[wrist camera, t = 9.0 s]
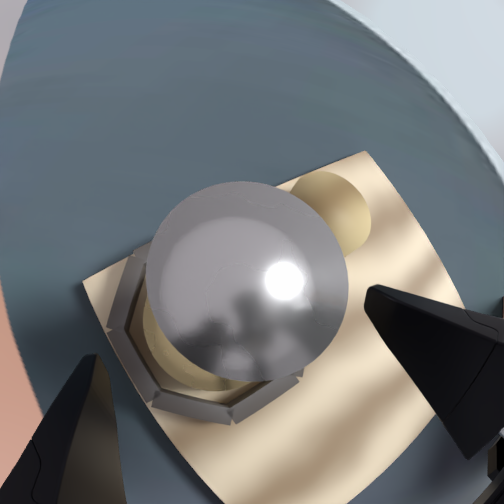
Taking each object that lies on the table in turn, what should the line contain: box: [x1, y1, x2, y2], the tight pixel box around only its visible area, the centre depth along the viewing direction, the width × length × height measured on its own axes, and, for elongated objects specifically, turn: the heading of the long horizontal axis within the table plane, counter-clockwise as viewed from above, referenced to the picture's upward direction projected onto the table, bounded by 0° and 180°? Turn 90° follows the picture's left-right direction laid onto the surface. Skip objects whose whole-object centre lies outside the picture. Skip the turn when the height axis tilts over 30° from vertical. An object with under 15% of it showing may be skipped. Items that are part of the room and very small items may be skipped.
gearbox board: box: [82, 151, 465, 504], centre depth 17 cm, size 23×26×4 cm
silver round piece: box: [143, 181, 349, 392], centre depth 11 cm, size 8×8×11 cm
